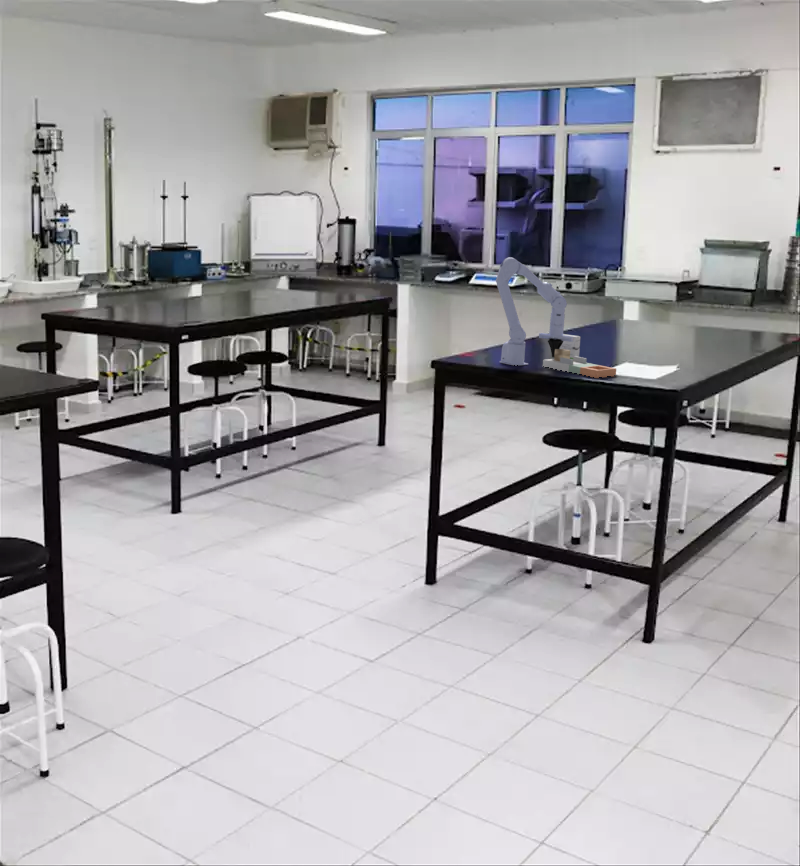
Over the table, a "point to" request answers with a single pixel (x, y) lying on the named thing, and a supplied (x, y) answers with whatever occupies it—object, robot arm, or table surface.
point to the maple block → (561, 354)
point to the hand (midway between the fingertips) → (554, 357)
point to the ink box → (572, 346)
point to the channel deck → (580, 367)
